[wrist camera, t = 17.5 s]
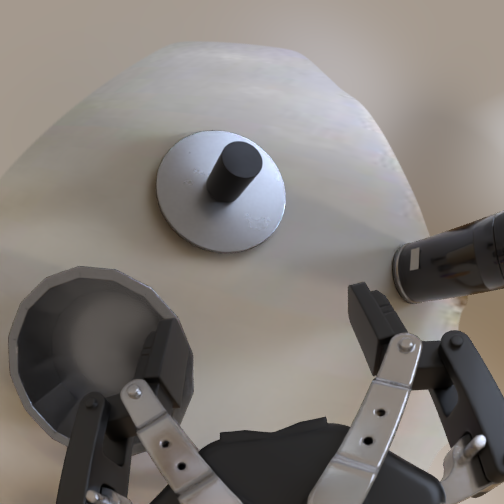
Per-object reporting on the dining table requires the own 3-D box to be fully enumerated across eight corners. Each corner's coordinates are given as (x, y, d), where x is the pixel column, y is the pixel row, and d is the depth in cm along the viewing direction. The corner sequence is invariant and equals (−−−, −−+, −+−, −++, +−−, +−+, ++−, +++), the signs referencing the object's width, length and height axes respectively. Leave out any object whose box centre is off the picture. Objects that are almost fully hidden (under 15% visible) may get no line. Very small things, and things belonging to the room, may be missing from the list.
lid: (279, 148, 37) (306, 117, 31) (282, 259, 34) (317, 244, 27) (165, 127, 32) (173, 87, 26) (148, 248, 29) (151, 227, 22)
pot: (178, 288, 29) (194, 275, 20) (179, 420, 26) (196, 459, 17) (49, 277, 24) (12, 258, 16) (50, 410, 21) (19, 442, 12)
